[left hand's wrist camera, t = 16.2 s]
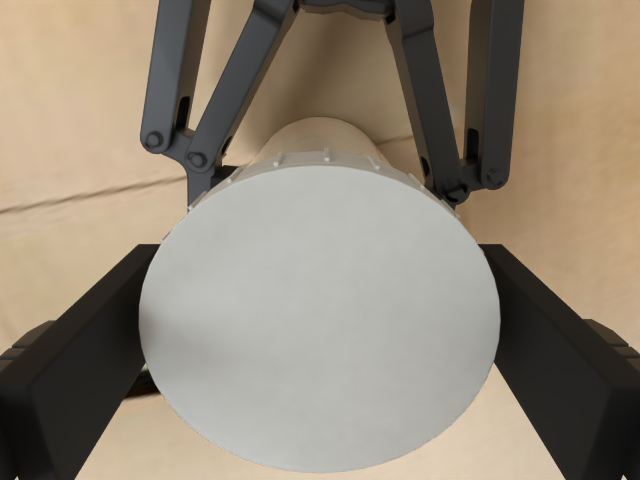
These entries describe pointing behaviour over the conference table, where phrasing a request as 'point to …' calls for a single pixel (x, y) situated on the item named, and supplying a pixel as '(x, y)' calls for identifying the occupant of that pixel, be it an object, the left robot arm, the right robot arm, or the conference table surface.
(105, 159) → the conference table surface
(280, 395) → the lid
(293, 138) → the jar
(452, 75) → the conference table surface
